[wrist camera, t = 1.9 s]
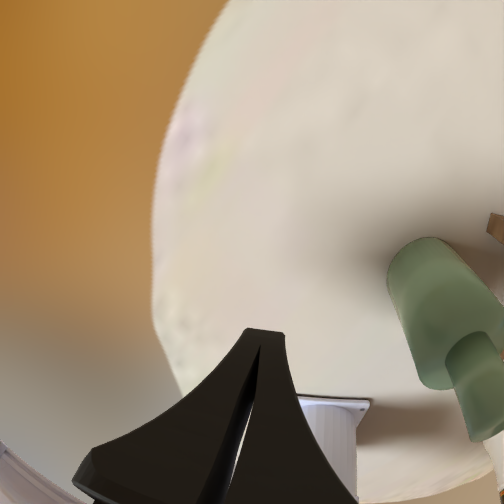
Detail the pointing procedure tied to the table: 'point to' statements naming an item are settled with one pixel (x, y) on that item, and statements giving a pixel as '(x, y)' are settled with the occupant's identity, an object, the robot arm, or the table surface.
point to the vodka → (497, 459)
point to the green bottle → (452, 330)
